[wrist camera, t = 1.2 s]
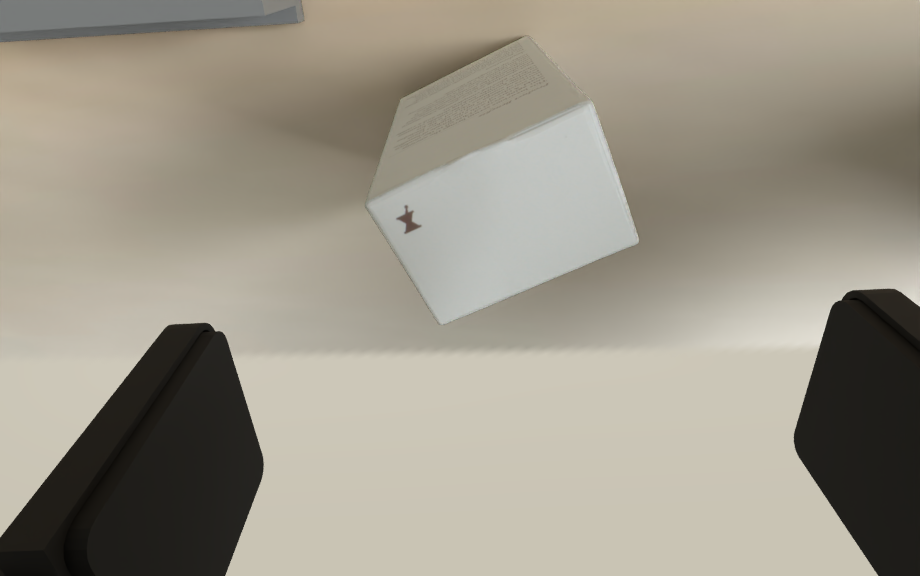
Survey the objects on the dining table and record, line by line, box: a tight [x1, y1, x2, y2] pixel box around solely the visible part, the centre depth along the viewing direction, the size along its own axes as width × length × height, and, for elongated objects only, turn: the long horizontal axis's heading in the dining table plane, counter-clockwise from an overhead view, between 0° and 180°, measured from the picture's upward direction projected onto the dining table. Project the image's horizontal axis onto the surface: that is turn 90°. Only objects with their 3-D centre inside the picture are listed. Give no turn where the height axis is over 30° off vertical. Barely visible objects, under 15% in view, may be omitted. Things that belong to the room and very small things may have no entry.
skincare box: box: [365, 36, 639, 325], centre depth 20 cm, size 6×4×12 cm
